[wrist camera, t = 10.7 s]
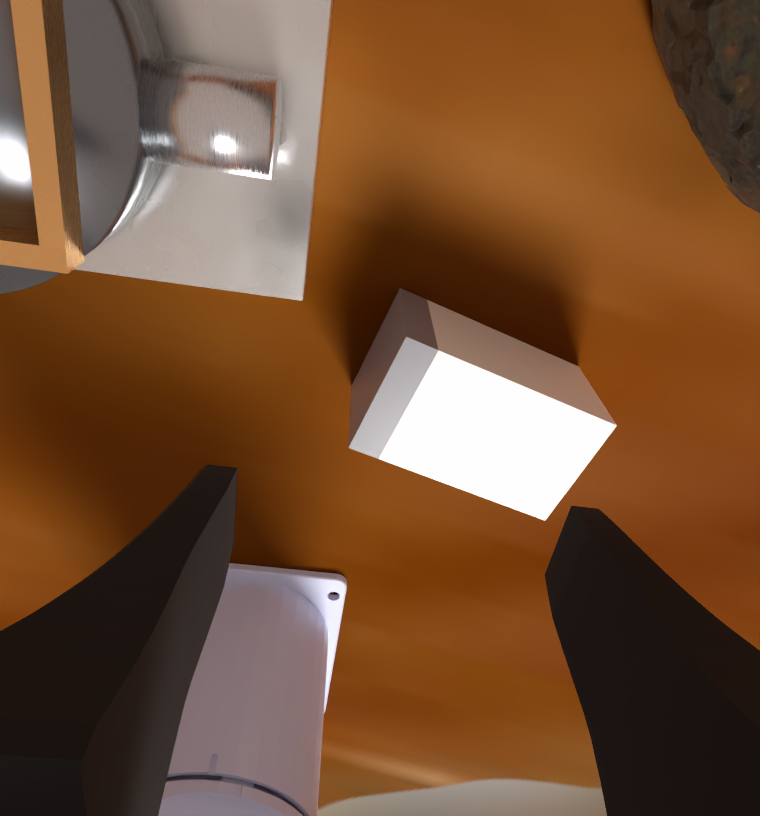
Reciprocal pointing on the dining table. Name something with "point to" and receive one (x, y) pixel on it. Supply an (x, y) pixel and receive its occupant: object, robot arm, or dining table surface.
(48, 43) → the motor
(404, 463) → the block
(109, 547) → the dining table surface
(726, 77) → the hand tool
